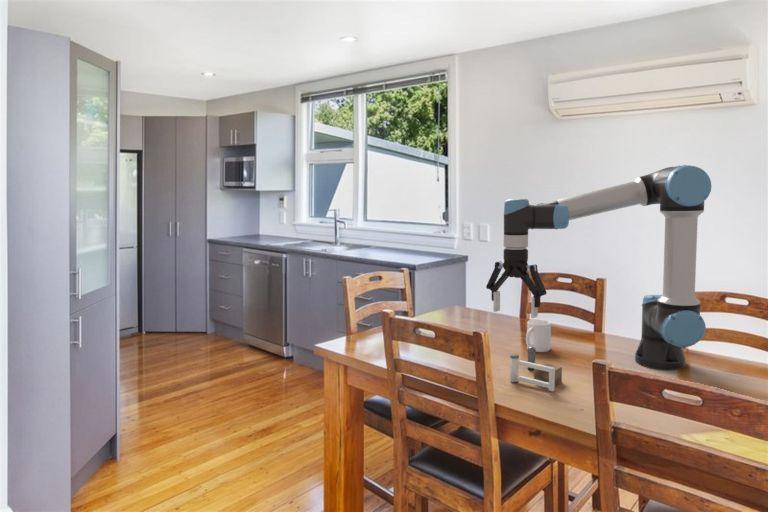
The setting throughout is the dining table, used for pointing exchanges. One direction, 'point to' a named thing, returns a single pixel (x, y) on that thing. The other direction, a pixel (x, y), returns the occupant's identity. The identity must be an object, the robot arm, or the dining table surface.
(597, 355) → the dining table surface
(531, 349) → the latch post
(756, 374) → the dining table surface
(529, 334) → the mug
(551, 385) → the gate
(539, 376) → the block
